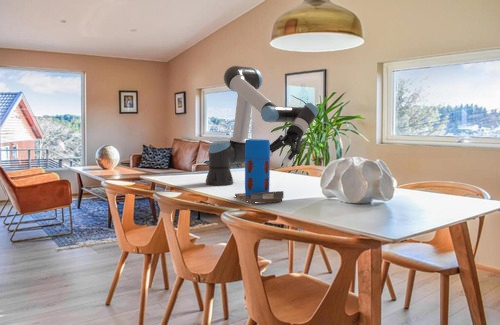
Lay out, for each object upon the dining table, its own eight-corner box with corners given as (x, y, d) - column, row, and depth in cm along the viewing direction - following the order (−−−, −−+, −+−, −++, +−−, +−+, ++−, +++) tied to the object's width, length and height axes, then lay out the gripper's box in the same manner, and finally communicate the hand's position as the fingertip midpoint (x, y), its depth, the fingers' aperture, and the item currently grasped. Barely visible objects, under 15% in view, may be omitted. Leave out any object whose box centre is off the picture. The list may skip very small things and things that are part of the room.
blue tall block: (259, 199, 187) (260, 140, 185) (239, 196, 194) (240, 139, 191) (274, 195, 196) (274, 139, 194) (254, 193, 202) (255, 139, 200)
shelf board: (235, 196, 201) (235, 187, 201) (264, 194, 207) (264, 185, 207) (251, 204, 184) (251, 193, 183) (283, 201, 190) (283, 191, 189)
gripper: (320, 136, 200) (297, 171, 192) (282, 134, 219) (259, 166, 211) (313, 124, 197) (289, 159, 188) (275, 123, 216) (251, 155, 207)
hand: (273, 163), depth 200 cm, fingers open, 13 cm apart
